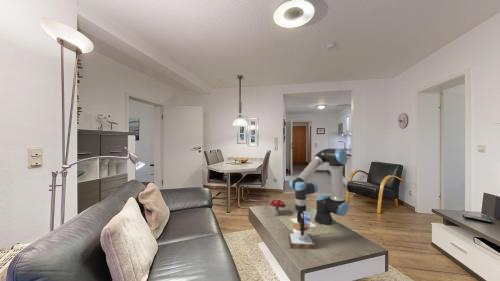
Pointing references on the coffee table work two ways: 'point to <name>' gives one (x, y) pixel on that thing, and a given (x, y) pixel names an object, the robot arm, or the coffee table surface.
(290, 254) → the coffee table surface
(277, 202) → the decorative mushroom
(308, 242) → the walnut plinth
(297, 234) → the lidded jar
